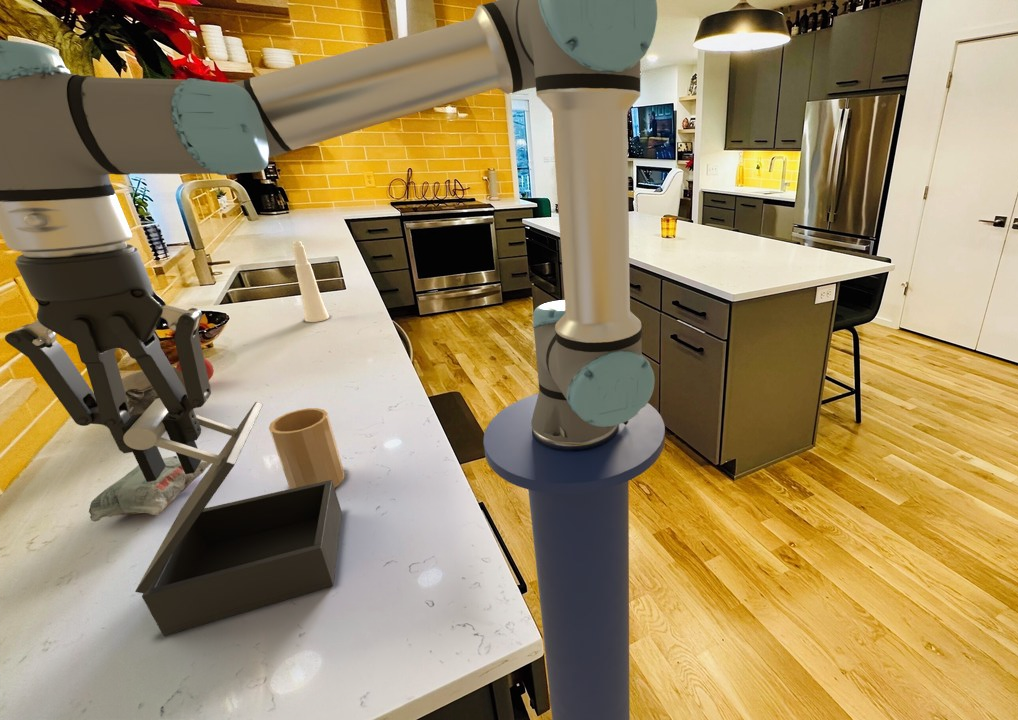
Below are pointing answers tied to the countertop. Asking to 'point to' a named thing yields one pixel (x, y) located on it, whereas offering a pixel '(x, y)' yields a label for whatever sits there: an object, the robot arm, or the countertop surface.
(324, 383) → the countertop surface
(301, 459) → the cup
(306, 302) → the cosmetic bottle
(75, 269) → the robot arm
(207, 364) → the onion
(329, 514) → the grey lidded box
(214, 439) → the countertop surface
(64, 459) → the countertop surface
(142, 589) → the lid
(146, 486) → the packaged food
